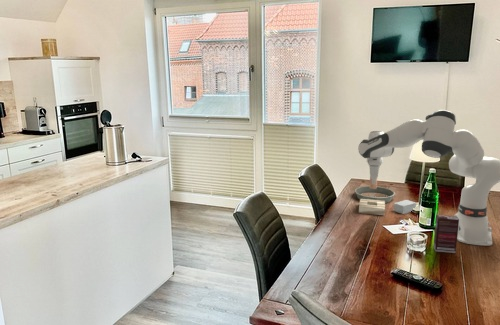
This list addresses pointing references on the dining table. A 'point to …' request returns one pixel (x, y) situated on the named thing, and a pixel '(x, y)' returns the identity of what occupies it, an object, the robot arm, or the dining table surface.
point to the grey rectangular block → (404, 206)
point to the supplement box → (446, 233)
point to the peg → (373, 186)
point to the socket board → (372, 207)
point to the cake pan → (378, 190)
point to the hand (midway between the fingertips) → (373, 182)
